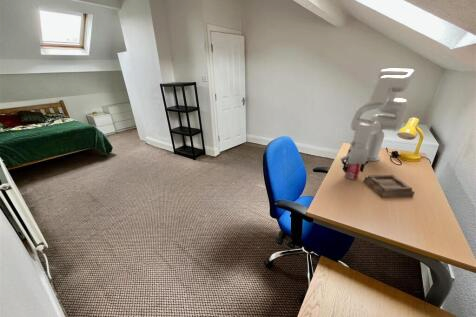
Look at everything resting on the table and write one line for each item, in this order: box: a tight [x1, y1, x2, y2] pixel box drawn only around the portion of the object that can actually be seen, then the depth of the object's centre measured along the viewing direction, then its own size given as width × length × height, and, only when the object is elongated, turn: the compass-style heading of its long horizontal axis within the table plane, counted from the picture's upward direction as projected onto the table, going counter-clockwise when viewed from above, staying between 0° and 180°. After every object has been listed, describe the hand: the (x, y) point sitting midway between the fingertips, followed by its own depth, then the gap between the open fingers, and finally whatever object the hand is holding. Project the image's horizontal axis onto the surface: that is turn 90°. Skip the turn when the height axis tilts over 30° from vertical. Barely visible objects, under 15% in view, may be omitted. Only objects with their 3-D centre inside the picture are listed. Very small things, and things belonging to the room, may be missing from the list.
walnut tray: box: [363, 174, 415, 199], centre depth 110 cm, size 16×16×4 cm
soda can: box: [344, 163, 361, 180], centre depth 120 cm, size 7×7×12 cm
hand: (352, 171), depth 120 cm, fingers open, 9 cm apart
